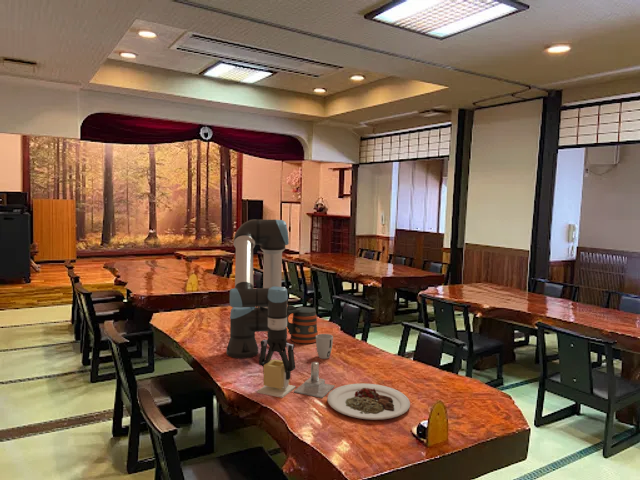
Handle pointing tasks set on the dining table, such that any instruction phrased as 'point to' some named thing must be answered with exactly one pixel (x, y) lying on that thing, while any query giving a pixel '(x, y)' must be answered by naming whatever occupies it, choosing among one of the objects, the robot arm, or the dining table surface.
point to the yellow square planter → (274, 374)
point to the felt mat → (276, 391)
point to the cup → (324, 345)
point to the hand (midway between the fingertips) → (276, 385)
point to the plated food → (368, 401)
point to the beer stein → (302, 324)
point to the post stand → (314, 384)
